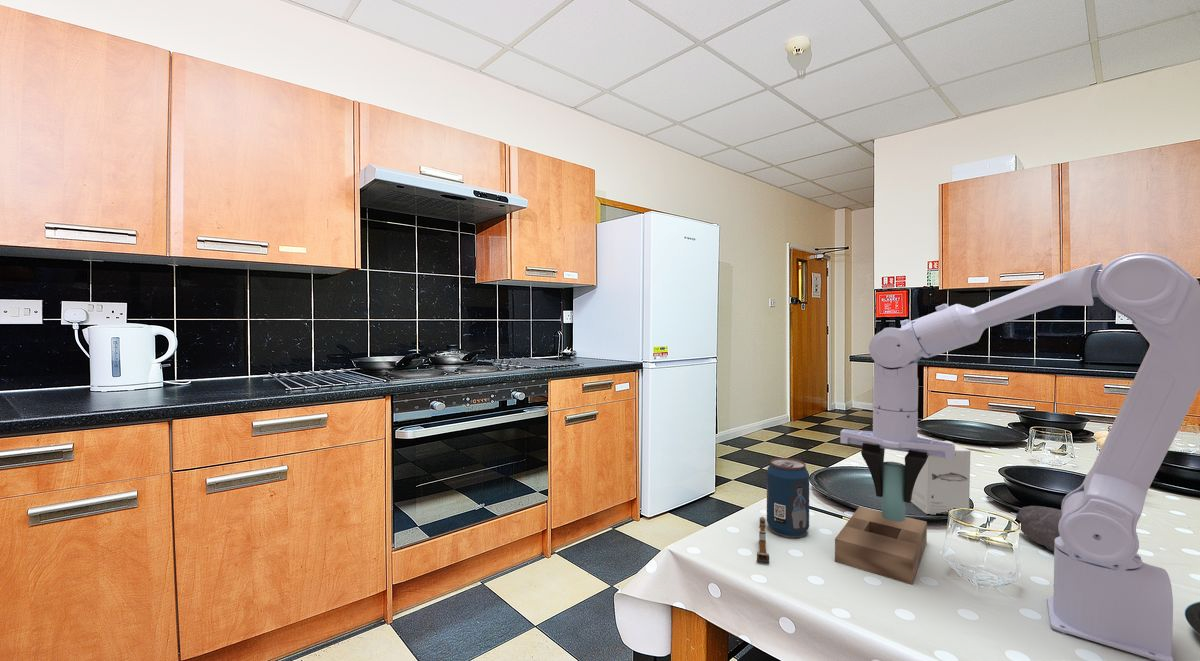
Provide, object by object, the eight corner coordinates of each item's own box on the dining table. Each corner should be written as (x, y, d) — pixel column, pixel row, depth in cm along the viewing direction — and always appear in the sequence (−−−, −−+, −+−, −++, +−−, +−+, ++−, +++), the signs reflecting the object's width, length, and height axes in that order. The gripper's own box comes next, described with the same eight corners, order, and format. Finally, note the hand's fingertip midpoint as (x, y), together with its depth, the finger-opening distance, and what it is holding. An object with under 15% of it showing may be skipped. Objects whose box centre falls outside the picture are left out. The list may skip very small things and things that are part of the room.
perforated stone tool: (1003, 534, 82) (1004, 493, 82) (1031, 532, 82) (1032, 492, 82) (1104, 582, 67) (1105, 533, 67) (1137, 579, 67) (1139, 531, 67)
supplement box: (926, 515, 89) (927, 448, 89) (908, 500, 97) (908, 438, 96) (970, 518, 88) (971, 450, 88) (948, 502, 95) (949, 440, 95)
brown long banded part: (767, 533, 80) (768, 514, 79) (769, 575, 74) (769, 554, 72) (756, 532, 81) (756, 512, 79) (756, 573, 74) (756, 553, 72)
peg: (905, 516, 72) (906, 463, 72) (904, 523, 70) (905, 469, 70) (883, 511, 74) (883, 460, 74) (880, 518, 72) (881, 465, 71)
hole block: (926, 542, 79) (926, 521, 78) (912, 584, 66) (912, 559, 66) (859, 525, 85) (859, 506, 85) (834, 561, 73) (835, 538, 73)
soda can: (776, 518, 88) (777, 454, 88) (815, 529, 84) (815, 462, 83) (759, 530, 83) (759, 462, 83) (799, 543, 79) (800, 471, 78)
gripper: (835, 406, 73) (834, 493, 74) (953, 419, 64) (951, 519, 64) (846, 400, 79) (845, 481, 79) (956, 410, 69) (954, 503, 70)
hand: (893, 497), depth 72 cm, fingers closed on peg, 3 cm apart
